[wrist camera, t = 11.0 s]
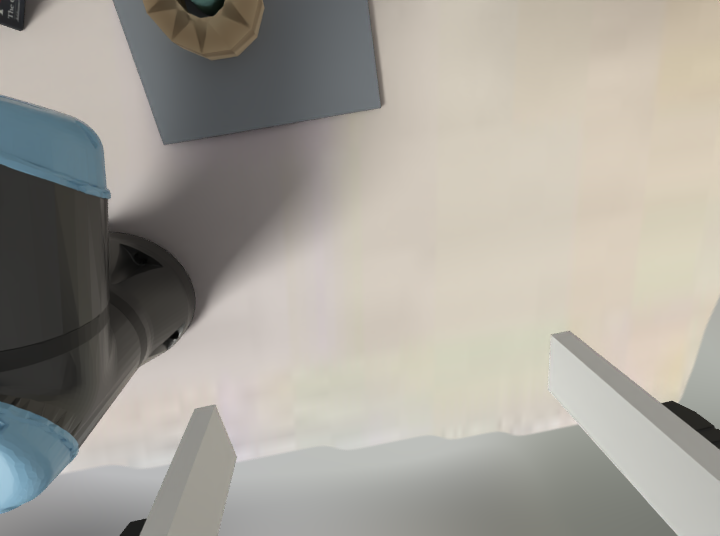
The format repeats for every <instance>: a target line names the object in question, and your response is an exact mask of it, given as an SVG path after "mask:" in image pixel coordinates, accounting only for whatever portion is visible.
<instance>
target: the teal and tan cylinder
mask: <svg viewBox="0 0 720 536" xmlns="http://www.w3.org/2000/svg"><path fill="white" fill-rule="evenodd" d="M191 1H192V2H193V3H194V4H195V5H196V6H197V7H198V8H199V9H200V10H201V11H202V12H203V13H204V14H206V15H208V16H214V15H215V14H216V13H217V12H218V11H219V10H220V9H221V8H222V7H223V6H224V1H225V0H191Z"/></svg>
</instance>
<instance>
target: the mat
mask: <svg viewBox="0 0 720 536" xmlns="http://www.w3.org/2000/svg"><path fill="white" fill-rule="evenodd" d="M113 2H114V5H115V8H116V11H117V14H118V16H119V19H120V22H121V25H122V28H123V31H124V33H125V36H126V39H127V42H128V45H129V48H130V50H131V53H132V56H133V59H134V62H135V65H136V67H137V70H138V73H139V76H140V79H141V82H142V84H143V87H144V90H145V93H146V96H147V99H148V101H149V104H150V107H151V110H152V113H153V116H154V118H155V121H156V124H157V127H158V130H159V133H160V135H161V138H162V141H163V144H164V145H167V144H173V143H179V142H184V141H190V140H196V139H202V138H208V137H214V136H219V135H225V134H231V133H237V132H243V131H249V130H254V129H260V128H266V127H272V126H278V125H284V124H290V123H295V122H301V121H307V120H313V119H319V118H325V117H330V116H336V115H342V114H348V113H354V112H360V111H366V110H371V109H377V108H381V104H380V96H379V88H378V80H377V72H376V64H375V56H374V48H373V40H372V32H371V24H370V16H369V8H368V0H263V3H264V12H263V16H262V20H261V24H260V28H259V32H258V36H257V38H256V39H255V40H254V41H253V42H252V43H251V44H250V45H249V46H248V47H247V48H246V49H245V50H244V51H243V52H242V53H241V54H240V55H239V56H236V57H230V58H224V59H218V60H209V59H207V58H205V57H202V56H200V55H197V54H195V53H193V52H190V51H188V50H185V49H183V48H182V47H180V46H178V45H177V44H175V43H174V42H172V41H171V40H170V39H169V38H168V37H167V36H166V34H165V33H164V32H163V31H162V30H161V29H160V28H159V26H158V25H157V24H156V23H155V22H154V21H153V20H152V19H151V17H150V16H149V15H148V14H147V12H146V9H145V6H144V3H143V0H113ZM185 4H186V7H187V10H188V12H189V13H190V14H192V15H194V16H197V17H199V18H204V17H211V16H208V15H206V14H204V13H203V12H202V11H201V10H200V9H199V8H198V7H197V6H196V5H195V4H194V3H193V2H192V1H191V0H185Z"/></svg>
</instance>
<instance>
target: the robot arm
mask: <svg viewBox="0 0 720 536" xmlns="http://www.w3.org/2000/svg"><path fill="white" fill-rule="evenodd" d="M110 198H111V193H110V191H109V190H108V189H107V186H106V174H105V161H104V150H103V145H102V143H101V141H100V139H99V137H98V135H97V134H96V133H95V132H94V130H93V129H91V128H90V127H89V126H88V125H87V124H86V123H84V122H82V121H81V120H79V119H77V118H75V117H72V116H70V115H67V114H64V113H61V112H58V111H55V110H51V109H48V108H45V107H41V106H38V105H35V104H31V103H28V102H24V101H21V100H17V99H14V98H10V97H7V96H3V95H0V514H2V513H5V512H8V511H10V510H12V509H15V508H17V507H19V506H20V505H22V504H24V503H26V502H28V501H31V500H33V499H34V498H35V497H37V496H38V495H39V494H40V493H41V492H43V491H44V490H45V489H46V488H47V487H48V485H49V484H50V483H51V482H52V481H53V480H54V479H55V478H56V477H57V476H58V475H59V473H60V472H61V471H62V470H63V469H64V468H65V467H66V466H67V465H68V464H69V463H70V462H71V461H72V460H73V459H74V458H75V457H76V455H77V454H78V452H79V448H80V447H81V445H82V444H83V442H84V441H85V440H86V438H87V437H88V436H89V434H90V433H91V432H92V430H93V429H94V427H95V426H96V425H97V423H98V422H99V421H100V419H101V418H102V417H103V415H104V414H105V413H106V411H107V410H108V408H109V407H110V406H111V404H112V403H113V402H114V400H115V399H116V398H117V396H118V395H119V394H120V392H121V391H122V389H123V388H124V387H125V385H126V384H127V383H128V381H129V380H130V379H131V377H132V376H133V374H134V373H135V372H136V370H137V369H138V368H139V367H140V366H142V365H143V364H145V363H147V362H149V361H150V360H152V359H154V358H155V357H157V356H159V355H161V354H162V353H164V352H166V351H167V350H168V349H170V348H171V347H172V346H173V345H174V344H175V343H176V342H177V341H178V340H179V339H180V338H181V337H182V335H183V334H184V332H185V331H186V329H187V327H188V326H189V324H190V322H191V320H192V318H193V314H194V310H195V294H194V289H193V286H192V283H191V281H190V279H189V277H188V275H187V273H186V271H185V270H184V269H183V267H182V266H181V265H180V263H179V262H178V261H177V260H176V259H175V258H174V257H173V256H172V255H171V254H169V253H168V252H167V251H165V250H164V249H163V248H161V247H159V246H158V245H156V244H154V243H152V242H150V241H148V240H146V239H143V238H140V237H137V236H134V235H130V234H124V233H109V231H108V199H110ZM548 391H549V392H550V393H551V394H552V395H553V396H554V397H555V398H556V399H557V401H558V402H559V403H560V404H561V405H562V406H563V407H564V408H565V410H566V411H567V412H568V413H569V414H570V415H571V416H572V417H573V419H574V420H575V421H576V422H577V423H578V424H579V425H580V426H581V428H582V429H584V431H585V432H586V433H587V434H588V435H589V436H590V438H591V439H592V440H593V441H594V442H595V443H596V444H597V445H598V447H599V448H600V449H601V450H602V451H603V452H604V453H605V454H606V456H607V457H608V458H609V459H610V460H611V461H612V462H613V463H614V465H616V467H617V468H618V469H619V470H620V471H621V472H622V473H623V475H624V476H625V477H626V478H627V479H628V480H629V481H630V482H631V484H632V485H633V486H634V487H635V488H636V489H637V490H638V491H639V492H640V494H641V495H642V496H643V497H644V498H645V499H646V500H647V502H648V503H649V504H650V505H651V506H652V507H653V508H654V509H655V510H656V512H657V513H658V514H659V515H660V516H661V517H662V518H663V519H664V520H665V522H666V523H667V524H668V525H669V526H670V527H671V528H672V529H673V531H674V532H675V533H676V534H677V535H678V536H720V430H719V429H715V427H714V425H712V424H711V423H709V422H708V421H707V420H705V419H704V418H703V417H701V416H700V415H699V414H697V413H696V412H695V411H692V410H690V409H688V408H686V407H684V406H682V405H680V404H678V403H676V402H674V401H669V402H665V403H660V402H659V401H658V400H656V399H655V398H654V397H652V396H651V395H650V394H649V393H647V392H646V391H645V390H644V389H642V388H641V387H640V386H639V385H637V384H636V383H635V382H634V381H632V380H631V379H630V378H628V377H627V376H626V375H625V374H623V373H622V372H621V371H620V370H618V369H617V368H616V367H615V366H613V365H612V364H611V363H610V362H608V361H607V360H606V359H604V358H603V357H602V356H601V355H599V354H598V353H597V352H596V351H594V350H593V349H592V348H591V347H589V346H588V345H587V344H586V343H584V342H583V341H582V340H580V339H579V338H578V337H577V336H575V335H574V334H573V333H572V332H570V331H566V332H561V333H556V334H552V335H551V341H550V359H549V376H548ZM236 458H237V456H236V454H235V451H234V449H233V446H232V444H231V442H230V439H229V437H228V434H227V432H226V429H225V427H224V424H223V422H222V420H221V417H220V415H219V412H218V410H217V407H216V405H211V406H206V407H202V408H197V409H195V410H194V412H193V414H192V416H191V419H190V421H189V423H188V426H187V428H186V430H185V432H184V435H183V437H182V439H181V442H180V444H179V446H178V449H177V451H176V453H175V455H174V458H173V460H172V462H171V465H170V467H169V469H168V471H167V474H166V476H165V478H164V481H163V483H162V485H161V488H160V490H159V492H158V495H157V497H156V499H155V501H154V504H153V506H152V508H151V511H150V513H149V515H148V518H147V519H142V520H137V521H134V522H130V523H129V524H128V526H127V527H126V528H125V529H124V531H123V532H122V533H121V534H120V536H218V532H219V528H220V524H221V520H222V516H223V511H224V508H225V504H226V499H227V495H228V491H229V487H230V483H231V479H232V475H233V470H234V467H235V462H236Z"/></svg>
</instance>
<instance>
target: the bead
mask: <svg viewBox="0 0 720 536" xmlns="http://www.w3.org/2000/svg"><path fill="white" fill-rule="evenodd" d="M143 3H144V6H145V9H146V12H147V14H148V15H149V16H150V17H151V19H152V20H153V21H154V22H155V23H156V24H157V25H158V26H159V28H160V29H161V30H162V31H163V32H164V33H165V34H166V36H167V37H168V38H169V39H170V40H171V41H172V42H174V43H175V44H177V45H178V46H180V47H182V48H183V49H185V50H188V51H190V52H193V53H195V54H197V55H200V56H202V57H205V58H207V59H209V60H218V59H224V58H230V57H236V56H239V55H240V54H241V53H242V52H243V51H244V50H245V49H246V48H247V47H248V46H249V45H250V44H251V43H252V42H253V41H254V40H255V39H256V38H257V36H258V32H259V28H260V24H261V20H262V16H263V12H264V3H263V0H225V1H224V6H223V7H222V8H221V9H220V10H219V11H218V12H217V13H216V14H215V15H214V16H211V17H204V18H199V17H197V16H194V15H192V14H190V13H189V12H188V10H187V7H186V4H185V0H143Z"/></svg>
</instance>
